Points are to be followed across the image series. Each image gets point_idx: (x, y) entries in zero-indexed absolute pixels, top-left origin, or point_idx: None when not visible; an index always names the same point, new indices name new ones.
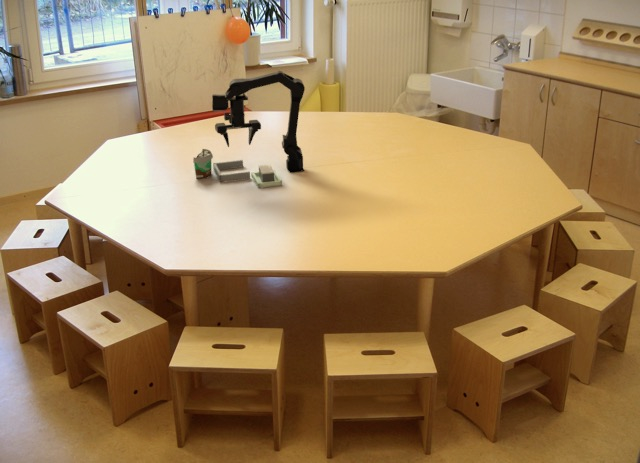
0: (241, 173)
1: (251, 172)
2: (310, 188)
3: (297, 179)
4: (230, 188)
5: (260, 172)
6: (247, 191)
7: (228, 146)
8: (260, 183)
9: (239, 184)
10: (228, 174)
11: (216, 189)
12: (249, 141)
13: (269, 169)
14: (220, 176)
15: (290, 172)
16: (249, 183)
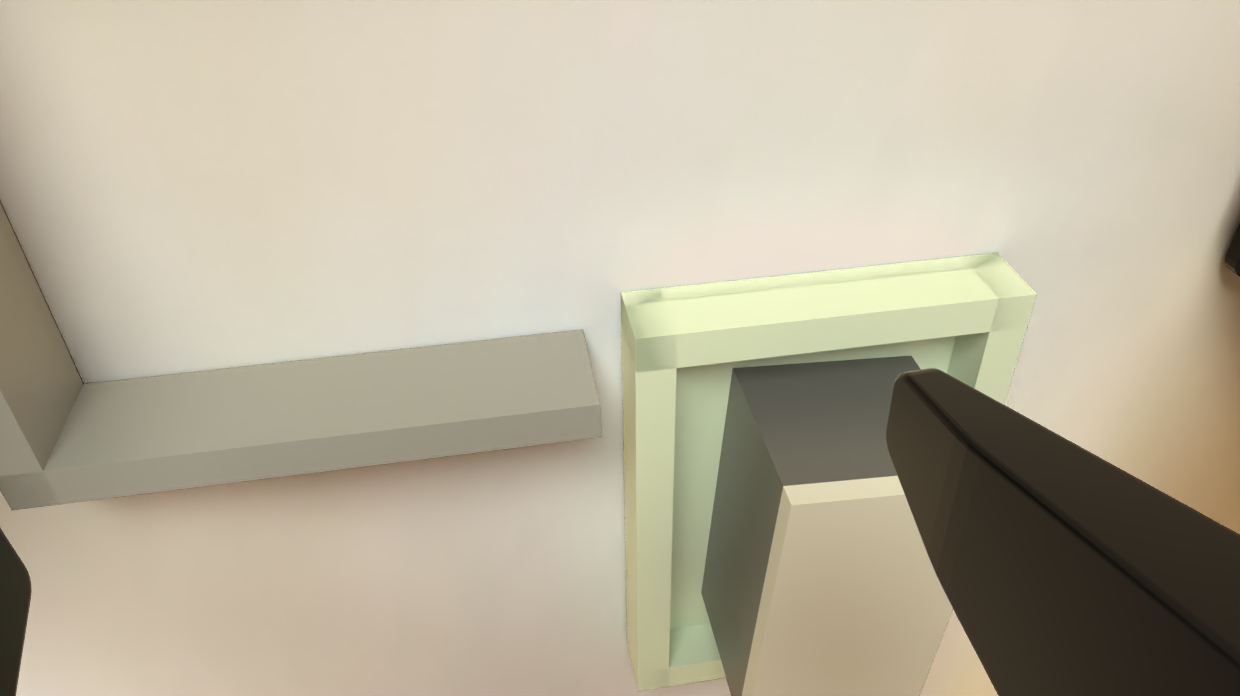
0: (446, 449)
1: (637, 343)
2: None
3: (1154, 471)
4: (261, 611)
5: (748, 587)
6: (482, 687)
7: (3, 628)
8: (665, 683)
9: (394, 518)
10: (194, 483)
11: (49, 622)
12: (950, 600)
13: (890, 651)
14: (37, 493)
15: (1228, 266)
16: (542, 505)
